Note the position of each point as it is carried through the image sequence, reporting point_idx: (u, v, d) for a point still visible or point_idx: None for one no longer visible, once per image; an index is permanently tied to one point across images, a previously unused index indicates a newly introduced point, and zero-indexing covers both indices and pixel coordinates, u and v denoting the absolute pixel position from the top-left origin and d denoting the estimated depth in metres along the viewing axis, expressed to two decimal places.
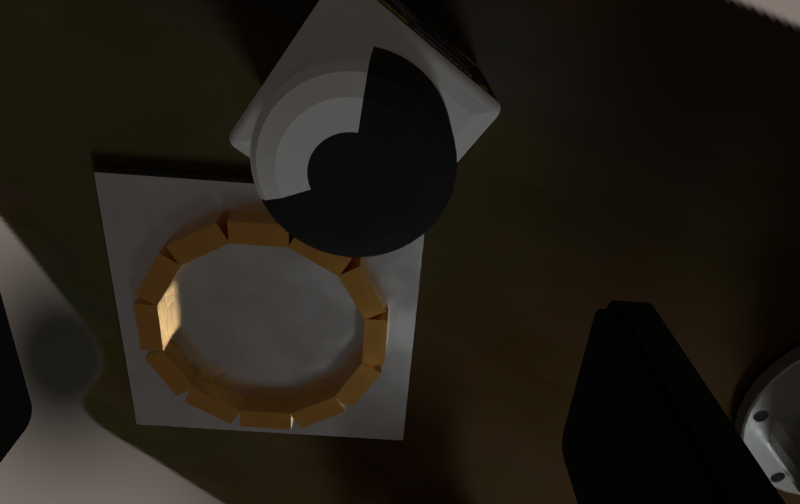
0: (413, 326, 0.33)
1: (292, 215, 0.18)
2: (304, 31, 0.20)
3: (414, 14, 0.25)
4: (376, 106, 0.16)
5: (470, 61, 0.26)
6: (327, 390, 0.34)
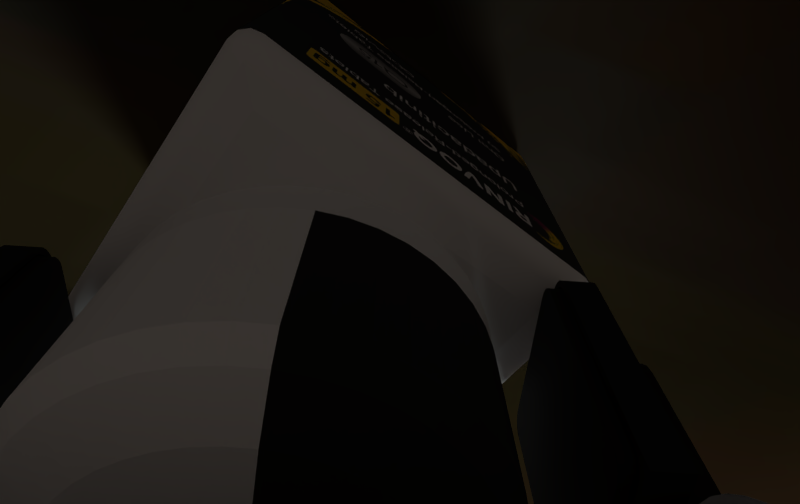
0: None
1: None
2: (169, 150, 0.09)
3: (412, 75, 0.14)
4: (301, 468, 0.05)
5: (509, 151, 0.15)
6: None
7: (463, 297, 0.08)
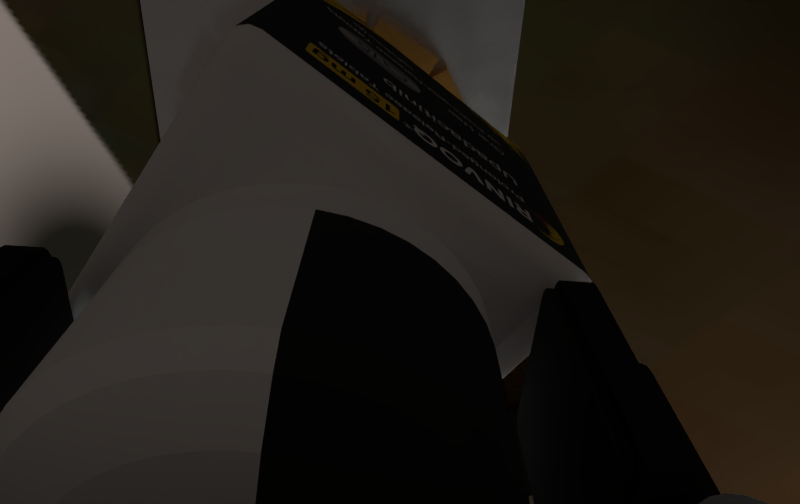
0: None
1: None
2: (167, 148, 0.09)
3: (412, 68, 0.14)
4: (304, 472, 0.05)
5: (509, 144, 0.15)
6: None
7: (464, 295, 0.08)
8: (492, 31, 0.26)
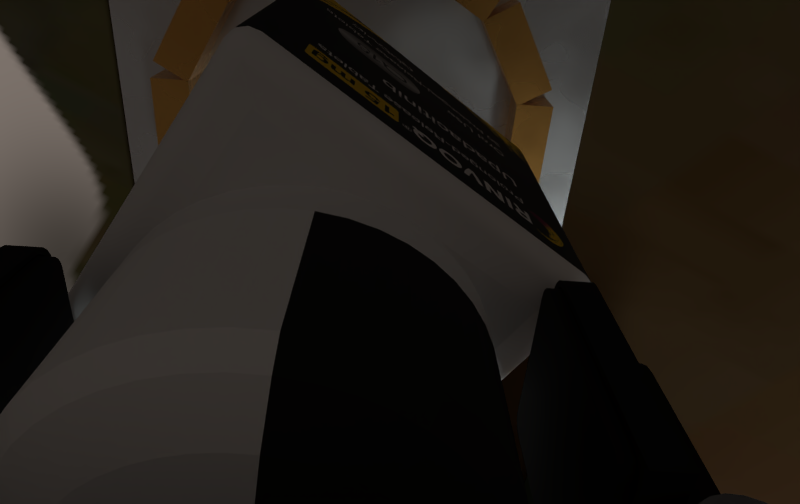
0: (580, 131, 0.21)
1: None
2: (167, 149, 0.09)
3: (411, 69, 0.14)
4: (303, 474, 0.05)
5: (508, 145, 0.15)
6: None
7: (463, 297, 0.08)
8: None
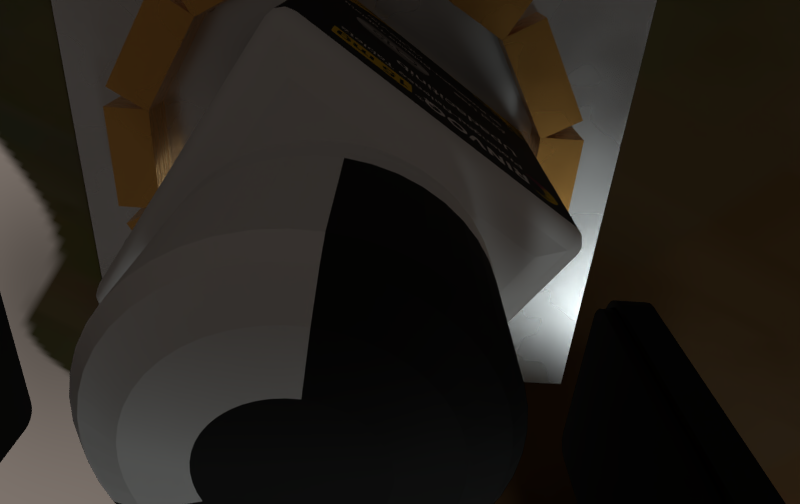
0: (612, 166, 0.18)
1: None
2: (213, 114, 0.10)
3: (420, 56, 0.16)
4: (344, 345, 0.07)
5: (509, 127, 0.17)
6: None
7: (470, 233, 0.09)
8: None
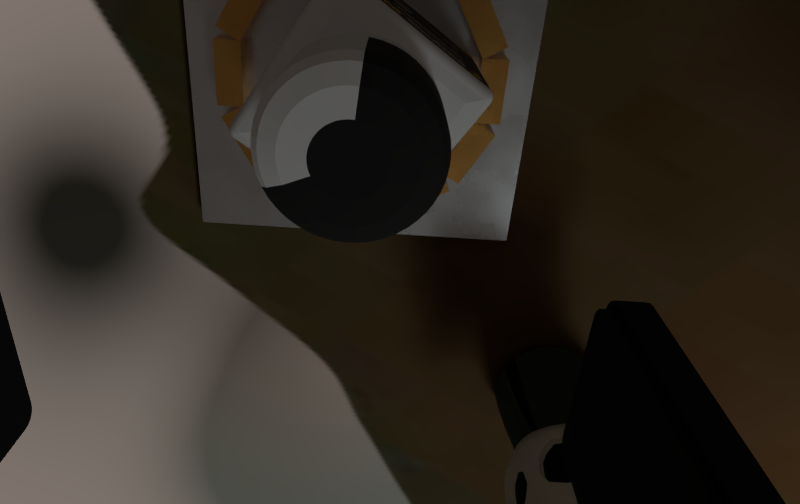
0: (532, 81, 0.28)
1: (292, 202, 0.18)
2: (301, 23, 0.20)
3: (408, 6, 0.26)
4: (372, 94, 0.17)
5: (463, 52, 0.27)
6: None
7: (428, 75, 0.19)
8: None
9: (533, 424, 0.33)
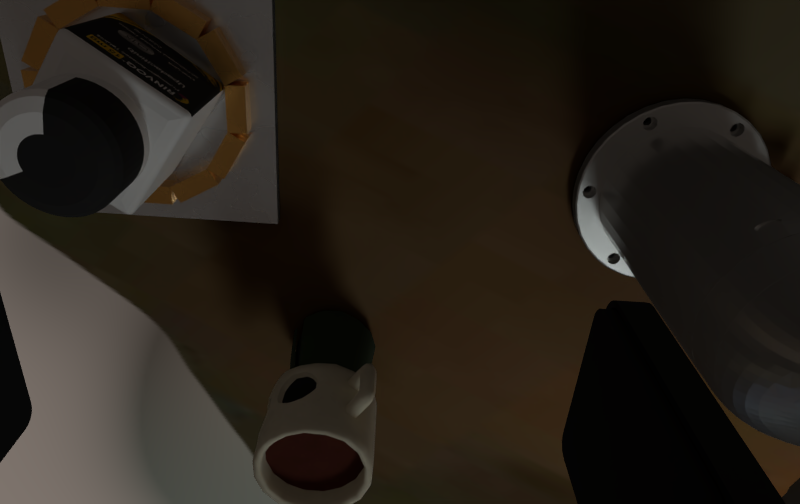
0: (273, 101, 0.37)
1: (17, 188, 0.27)
2: (43, 65, 0.29)
3: (161, 47, 0.35)
4: (51, 118, 0.26)
5: (210, 80, 0.36)
6: (203, 167, 0.39)
7: (120, 102, 0.28)
8: (250, 3, 0.35)
9: None
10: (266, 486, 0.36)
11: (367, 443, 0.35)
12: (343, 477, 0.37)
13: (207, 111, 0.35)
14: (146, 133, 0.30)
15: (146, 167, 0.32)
